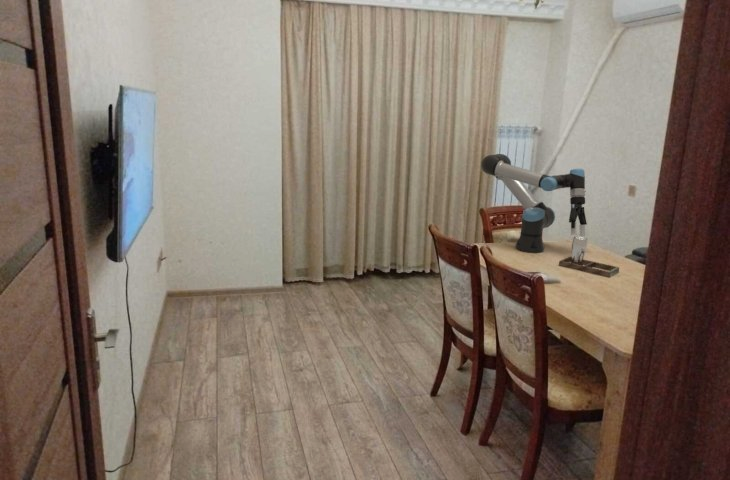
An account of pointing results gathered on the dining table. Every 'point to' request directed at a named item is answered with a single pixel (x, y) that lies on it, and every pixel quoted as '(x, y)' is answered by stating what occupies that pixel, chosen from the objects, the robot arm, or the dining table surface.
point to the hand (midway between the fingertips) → (578, 235)
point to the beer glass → (578, 249)
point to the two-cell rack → (590, 267)
